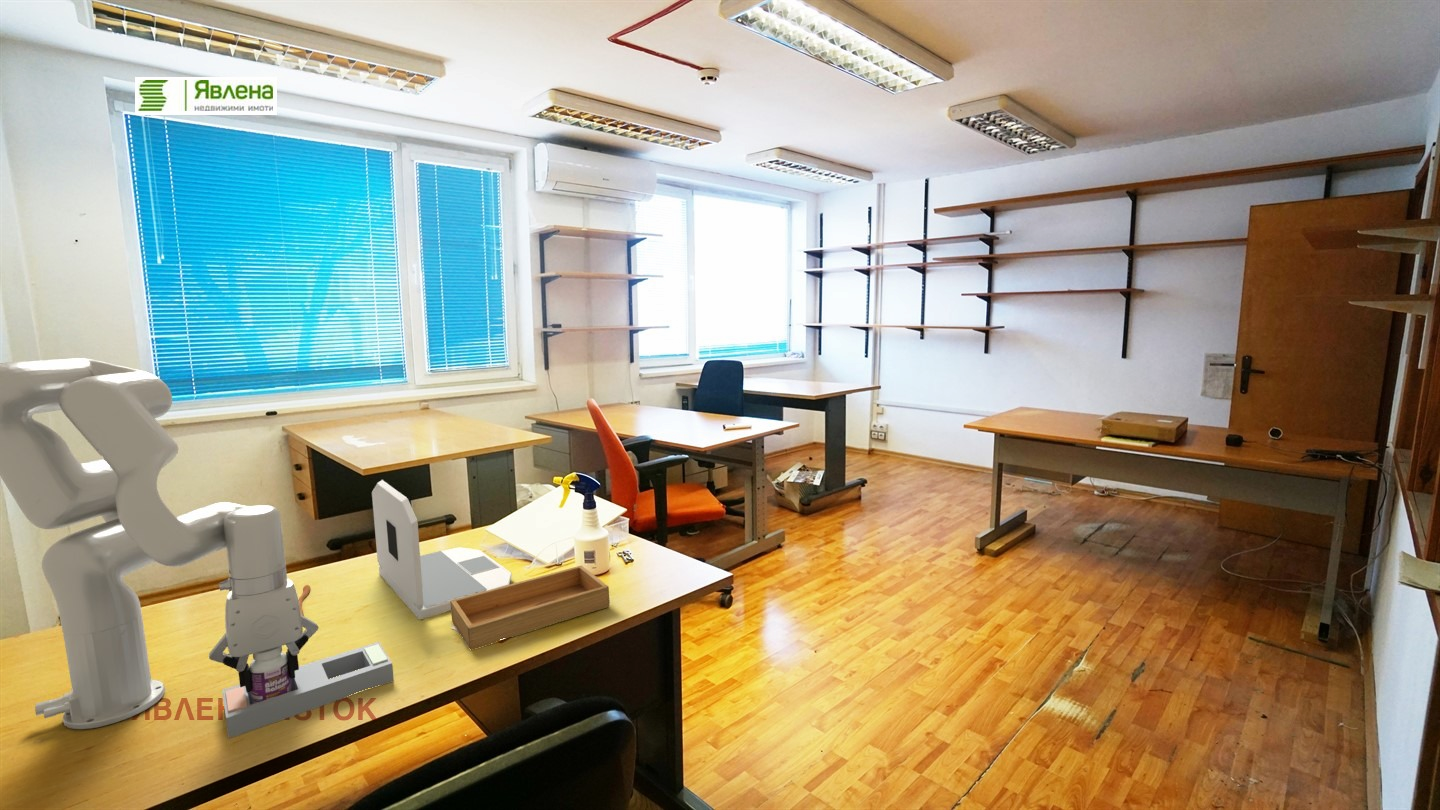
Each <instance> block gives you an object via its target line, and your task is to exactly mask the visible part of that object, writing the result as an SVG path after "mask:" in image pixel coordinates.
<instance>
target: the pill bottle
mask: <svg viewBox="0 0 1440 810" xmlns="http://www.w3.org/2000/svg"><path fill="white" fill-rule="evenodd" d="M252 658H253V660H252V661H251V663H249V670H250V678H251V687H252V691H251V694H252V702H253V704H255V703H258V702H261V701H264V700H267V699H270V698H273V697H276V696H279V695H282V694H285V693H288V692H291V691H290V677H289V668H288V658H287V656H286V653H283V646H279V647H276V648H272V649H269V650H265V651H261V652H258V653H254V654H252Z"/></svg>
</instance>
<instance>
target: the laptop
mask: <svg viewBox="0 0 1440 810" xmlns="http://www.w3.org/2000/svg"><path fill="white" fill-rule="evenodd" d="M371 498H372V499H371V500H372V509H373V510H372V511H373V521H374V523H373V524H374V534H375V536H374V537H375V545H376V556H377V558H376V559H377V563H378V571H379V572H378V573H379V575H380V576H381V577H382V579H383V580H384V581H385V582H386V584H387V585H389V586H390V588H391V589H392V590H393V591H394V592H395V593H396V595H397V596H398V597H399V598H400V599H401V601H402V602H403V603H404V604H405V605H406V607H407V608H408V609H409V610H410V611H411V612H412V613H413V614H414V615H415V616H416V618H417V619H418V620H419V621H420V620H422V619H427V618H430V617H432V616H433V617H434V616H437V615H439V614H443V613H446V612H449V611H450V612H451V603H450V600H454V599H457V598H461V597H465V596H469V595H472V594H476V593H480V592H484V591H487V590H491V589H495V588H499V587H502V586H506V585H510V584H511V581H512V572H510V570H508V569H507V568H505V567H504V566H502V565H501V564H500V563H498V562H497V561H495V560H494V559H492V558H491V556H489V555H488V554H486V553H484V552H483V551H482V550H481V549H475V548H468V547H462V546H461V547H459V546H458V547H457V546H456V547H454V548H450V549H446V550H445V549H444V550H438V551H434V552H431V553H427V554H423V555H421V550H420V538H419V523H418V518H417V516H416V514H415V511H414V509H413V507H412V505H411V503H410V501H409V500H410V499H409V498H407V496H405V495H404V494H402V492H400V491H398V490H397V489H395V488H394V487H393V486H392V485H390V484H389V483H388V482H386V481H385V480H384V479H381V480H380V481H378V482H377V483H376V485H375V486H374V488H373V490H372V491H371Z"/></svg>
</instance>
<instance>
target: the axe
mask: <svg viewBox="0 0 1440 810" xmlns="http://www.w3.org/2000/svg"><path fill="white" fill-rule="evenodd" d="M310 592H311V586H310V585H308V584H306V585H304V586H303V588H302V594H301V595H300V596H299V597H298V601H299V607H300V612H301V615H303V616H304V615H305V614H304V610H303V601H304V600H305V599H306V597H308V596H309V594H310ZM308 593H309V594H308ZM304 598H305V599H304ZM303 599H304V600H303ZM304 617H305V616H304Z"/></svg>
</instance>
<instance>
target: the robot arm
mask: <svg viewBox="0 0 1440 810" xmlns="http://www.w3.org/2000/svg"><path fill="white" fill-rule="evenodd" d="M172 404H173V395H172V392H171V389H170V388H169V386H168V385H167V384H166V383H165V382H164V381H163V380H162V379H161V378H160V377H158V376H156V375H155V374H152V373H149V372H147V371H144V370H141V369H137V368H132V367H129V366H128V367H127V366H123V365H117V364H114V363H109V362H104V361H100V360H97V359H96V360H95V359H90V358H82V357H72V358H71V357H70V358H68V357H67V358H66V357H65V358H52V359H50V358H49V359H36V360H35V359H34V360H20V361H19V360H18V361H8V362H0V478H1V480H2V481H3V484H4V485H5V487H6V488H7V489H8V491H9V492H10V494H11V496H12V498H13V499H14V500H15V502H16V504H17V506H18V507H19V509H20V510H21V512H22V513H23V515H24V516H25V518H26V519H27V520H28V522H30V523H31V524H32V525H33V526H35V527H37V528H39V529H44V530H53V529H54V530H57V529H61V528H65V527H70V526H72V525H76V524H80V523H82V522H85V521H88V520H91V519H96V518H98V517H102V519H103V520H104V521H105V522H103V523H99V524H96V525H93V526H90V527H87V528H85V529H82V530H78V531H76V532H73V533H71V534H69V535H66V536H64V537H63V538H60V539H58V540H57V541H55V542H54V543H53V544H51V546H50V547H49V548H47V550H46V551H45V553H44V554H43V558H42V561H41V569H42V572H43V573H42V574H43V576H44V578H45V580H46V582H47V584H48V585H49V588H50V590H51V592H52V594H53V597H54V600H55V602H56V603H55V604H56V607H57V609H58V610H57V611H58V614H59V618H60V619H59V620H60V624H61V631H62V634H63V641H64V642H63V643H64V647H65V652H66V659H67V665H68V671H69V678H70V683H71V690H70V692H67V693H64V694H63V695H62V696H61V697H58V698H54V699H48V700H45V701H40V702H37V703H35V706H34V711H35V715H36V716H37V717H38V716H40V715H41V716H42V715H43V718H44V719H47V718H51V717H54V716H57V715H59V714H63V715H62V721H63V724H64V726H65V727H66V726H67V727H66V728H68V729H73V730H89V729H95V728H101V727H104V726H108V725H112V724H116V723H118V722H121V721H124V720H127V719H129V718H132V717H134V716H136V715H138V714H140V713H142V712H145V711H146V710H148V709H149V708H151V707H153V706H154V705H155V704H157V703H158V702H159V701H160V700H161V699H162V698H163V697H164V695H165V692H166V691H165V690H166V688H165V683H164V682H162V681H160V680H157V679H152V675H151V670H150V662H149V654H148V648H147V642H146V634H145V627H144V620H143V613H142V607H141V601H140V599H139V596H138V595H137V593H136V592H135V591H134V590H133V589H132V588H131V587H130V586H129V585H127V584H126V583H125V581H124V579H123V578H124V576H126V575H129V574H131V573H132V572H133V573H134V572H135V571H137V570H140V569H142V568H144V567H147V566H148V565H151V564H153V563H155V562H156V563H157V564H159V565H163V566H166V567H182V566H185V565H188V564H191V563H193V562H195V561H198V560H200V559H202V558H205V557H206V556H208V555H210V554H213V553H214V552H215V553H216V552H218V551H220V550H223V549H226V557H227V563H228V564H227V565H228V566H227V567H228V573H229V575H228V576H229V577H227V579H225V580H224V581H220V582H218V584H219V586H218V587H219V591H225V590H226V591H229V592H228V593H227V594H226V595H227V596H226V601H225V608H224V609H225V611H224V612H225V614H224V615H225V616H224V617H225V618H224V621H225V623H224V624H225V633H224V635H223V636H222V637H221V638H220V639H219V641H218V642H217V643H216V644H215V645H214V647H213V648H212V649H211V651H210V652H209V654H208V658H209V660H210V661H214V662H216V663H220V664H221V663H222V664H223V665H225V666H227V667H229V668H231V669H235V670H236V671H237V672H238V680H239V685H240V687H244V686H245V687H246V692H247V693H248V692H250V691H252V687H251V678H250V670H249V666H250V664H249V663H248V660H249V657H250V655H253V654H254V653H258V652H261V651H265V650H269V649H272V648H276V647H279V646H282V647H284V646H286V648H287V650H286V652H285V655H286V656H287V658H288V668H289V676H290V678H292V679H293V678H295V671H296V670H299V666H300V665H299V657H298V655H299V653H300V651H301V649H302V648H303V647H304V646H305V645H306V644H307V643H308V641H309V639H310V638H312V636H314V634H316V632H317V631H318V630H319V625H318V623H316V622H315V621H313V620H311V619H309V618H307V617H306V616H303V615H301V612H300V607H299V601H298V600H299V596H298V593H297V591H296V587H295V585H294V582H293V581H292V580H291V579H289V578H288V574H287V565H286V563H287V562H286V555H285V546H284V545H285V544H284V535H283V526H282V517H281V513H280V511H279V509H278V508H277V507H275V506H273V505H266V504H265V505H264V504H259V505H258V504H257V505H243V504H240V503H235V502H227V501H223V502H222V501H221V502H214V503H210V504H207V505H205V506H202V507H199V508H197V509H194V510H193V509H192V510H191V511H187V512H185V513H183V514H180V515H176V516H175V515H174V513H173V512H172V511H171V510H170V509H169V508H168V506H167V505H166V504H165V503H164V501H163V500H162V498H161V496H160V494H159V491H158V486H157V485H158V483H157V482H158V477H159V474H160V473H161V470H162V469H163V468H165V467H166V466H167V465H169V463H171V462H172V461H173V460H174V459H175V458H176V457H177V454H178V453H179V446H178V444H177V443H176V441H175V440H174V439H173V438H172V437H171V436H170V434H169V433H168V432H167V430H166V429H164V427H163V426H162V425H161V424H160V423H159V421H157V419H158V418H161V417H162V416H164V415H165V414H167V413H168V412H169V410H170V409H171V407H172ZM56 411H57V412H58V411H62V413H63V414H64V415H65V416H66V418H67V419H68V420H69V421H70V422H71V424H72V425H73V427H74V428H76V430H77V431H78V432H79V433H80V434H81V435H82V437H84V439H85V440H86V441H87V442H88V443H89V444H90V446H92V447H93V449H94V450H95V451H96V452H97V454H98V455H99V457H101V458H100V459H94V460H90V461H86V462H82V463H81V462H80V461H79V460H78V459H77V458H76V457H75V456H74V453H73V452H72V450H71V449H70V447H69V446H68V443H66V441H65V439H64V438H62V436H61V435H59V434H58V433H57V432H56V431H55V430H53V429H52V428H51V427H48V426H47V425H45V424H43V423H42V422H39V421H37V420H35V419H34V418H33V416H34V414H42V413H49V412H50V413H51V412H56ZM303 628H305V630H304V629H303ZM226 649H228V650H227V651H228V653H226V652H224V651H225V650H226Z"/></svg>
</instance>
